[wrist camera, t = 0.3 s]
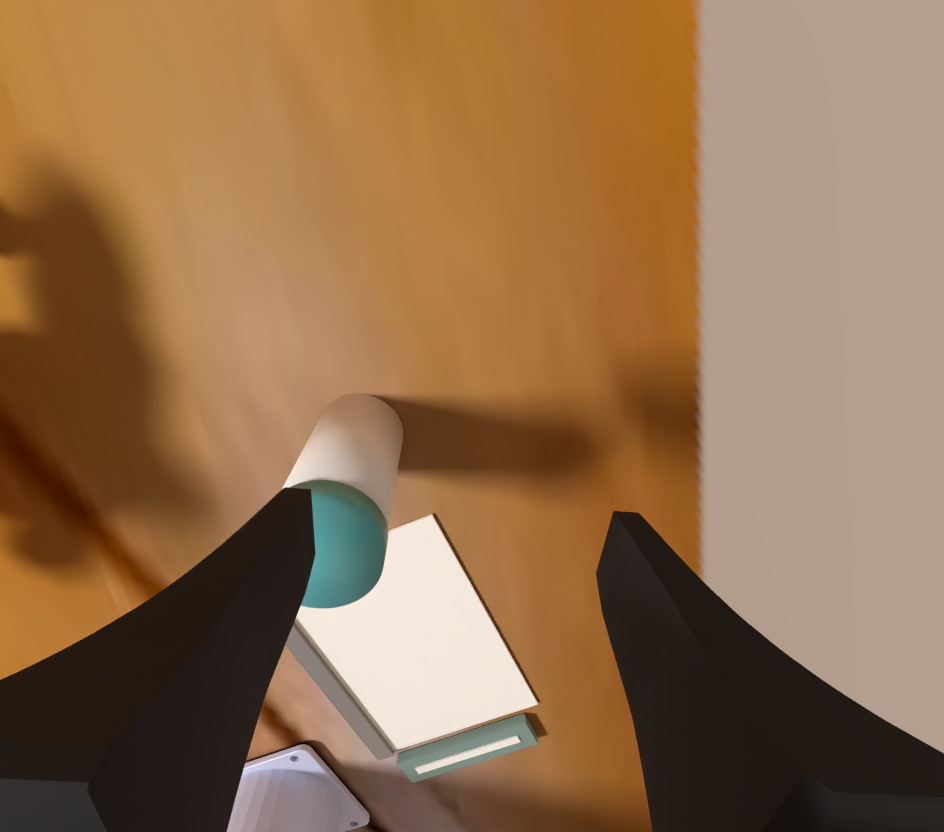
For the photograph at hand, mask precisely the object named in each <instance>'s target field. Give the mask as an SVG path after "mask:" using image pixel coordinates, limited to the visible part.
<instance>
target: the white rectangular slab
mask: <svg viewBox="0 0 944 832" xmlns="http://www.w3.org/2000/svg"><path fill="white" fill-rule="evenodd" d="M285 645H286V646H287V648H288V649H289V650H290V651H291V652H292V654H293V655H294V656H295V657H296V659H297V660H298V661H299V662H300V664H301V665H302V666H303V667H304V669H305V670H306V671H307V672H308V674H309V675H310V676H311V677H312V679H313V680H314V681H315V682H316V684H317V685H318V686H319V687H320V689H321V690H322V691H323V692H324V694H325V695H326V696H327V697H328V699H329V700H330V701H331V702H332V704H333V705H334V706H335V707H336V709H337V710H338V711H339V712H340V714H341V715H342V716H343V717H344V719H345V720H346V721H347V722H348V724H349V725H350V726H351V727H352V729H353V730H354V731H355V732H356V734H357V735H358V736H359V737H360V739H361V740H362V741H363V742H364V744H365V745H366V746H367V747H368V748H369V750H370V751H371V752H372V753H373V755H374V756H375V757H376V758H377V760H381V759H384V758H387V757H391V756H394V751H395V750H398V749H401V748H404V747H407V746H410V745H414V744H417V743H420V742H423V741H426V740H429V739H432V738H435V737H438V736H441V735H444V734H448V733H451V732H454V731H457V730H460V729H463V728H466V727H469V726H472V725H475V724H478V723H482V722H485V721H488V720H491V719H494V718H497V717H500V716H503V715H506V714H509V713H513V712H516V711H519V710H522V709H525V708H528V707H531V706H534V705H537V704H538V702H537V700H536V699H535V697H534V695H533V693H532V691H531V690H530V688H529V686H528V684H527V682H526V681H525V679H524V677H523V675H522V673H521V672H520V670H519V668H518V666H517V665H516V663H515V661H514V659H513V657H512V656H511V654H510V652H509V650H508V648H507V647H506V645H505V643H504V641H503V640H502V638H501V636H500V634H499V632H498V631H497V629H496V627H495V625H494V623H493V622H492V620H491V618H490V616H489V615H488V613H487V611H486V609H485V607H484V606H483V604H482V602H481V600H480V598H479V597H478V595H477V593H476V591H475V590H474V588H473V586H472V584H471V582H470V581H469V579H468V577H467V575H466V573H465V572H464V570H463V568H462V566H461V565H460V563H459V561H458V559H457V557H456V556H455V554H454V552H453V550H452V548H451V547H450V545H449V543H448V541H447V539H446V538H445V536H444V534H443V532H442V531H441V529H440V527H439V525H438V523H437V522H436V520H435V518H434V516H433V514H430V515H428V516H425V517H423V518H420V519H417V520H415V521H412V522H410V523H407V524H404V525H402V526H399V527H397V528H394V529H391V530H389V531H388V544H387V549H386V555H385V561H384V567H383V571H382V574H381V577H380V579H379V581H378V583H377V584H376V585H375V587H374V588H373V589H372V590H371V591H370V592H369V593H368V594H367V595H365V596H364V597H363V598H361V599H359V600H357V601H355V602H353V603H351V604H348V605H345V606H341V607H336V608H310V607H305V606H300V609H299V611H298V614H297V616H296V619H295V621H294V624H293V626H292V629H291V631H290V634H289V636H288V639H287V641H286V644H285Z"/></svg>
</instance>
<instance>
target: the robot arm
mask: <svg viewBox="0 0 944 832" xmlns="http://www.w3.org/2000/svg"><path fill="white" fill-rule="evenodd" d="M315 555H316V553H315V538H314V524H313V509H312V495H311V489H302V488H288V487H285V488H283V489H282V490H281V491H280V492H279V493H278V494H276V495H275V496H274V497H273V498H272V499H271V500H270V501H269V502H268V503H267V504H266V505H265V506H264V507H263V508H262V509H261V510H259V511H258V512H257V513H256V514H255V515H254V516H253V517H252V518H251V519H250V520H249V521H248V522H247V523H245V524H244V525H243V526H242V527H241V528H240V529H239V530H238V531H236V532H235V533H234V534H233V535H232V536H231V537H230V538H229V539H227V540H226V541H225V542H224V543H223V544H222V545H221V546H219V547H218V548H217V549H216V550H215V551H213V552H212V553H211V554H210V555H208V556H207V557H206V558H205V559H203V560H202V561H201V562H200V563H198V564H197V565H196V566H195V567H193V568H192V569H191V570H190V571H188V572H187V573H186V574H184V575H183V576H182V577H180V578H179V579H178V580H176V581H175V582H174V583H172V584H171V585H169V586H168V587H167V588H165V589H164V590H162V591H161V592H159V593H158V594H156V595H155V596H153V597H152V598H151V599H149V600H148V601H146V602H145V603H143V604H141V605H140V606H138V607H137V608H135V609H133V610H132V611H130V612H128V613H127V614H125V615H123V616H122V617H120V618H118V619H117V620H115V621H113V622H112V623H110V624H108V625H107V626H105V627H103V628H101V629H100V630H98V631H96V632H95V633H93V634H91V635H89V636H88V637H86V638H84V639H82V640H80V641H78V642H77V643H75V644H73V645H71V646H69V647H67V648H65V649H63V650H62V651H60V652H58V653H56V654H54V655H52V656H50V657H48V658H46V659H44V660H42V661H40V662H38V663H36V664H34V665H32V666H30V667H27V668H25V669H23V670H21V671H19V672H17V673H15V674H13V675H10V676H8V677H6V678H4V679H1V680H0V832H346V831H349V830H352V829H356V828H359V827H362V826H365V825H367V824H368V823H369V818H370V815H369V813H368V812H367V811H366V810H365V809H364V807H363V806H362V805H361V804H360V803H359V802H358V801H357V799H356V798H355V797H354V796H353V795H352V794H351V792H350V791H349V790H348V789H347V788H346V787H345V786H344V784H343V783H342V782H341V781H340V780H339V779H338V778H337V776H336V775H335V774H334V773H333V772H332V771H331V770H330V768H329V767H328V766H327V765H326V764H325V763H324V762H323V760H322V759H321V758H320V757H319V756H318V755H317V754H316V752H315V751H314V750H313V749H312V748H311V747H310V746H309V745H306V744H302V745H298V746H295V747H292V748H289V749H286V750H283V751H280V752H277V753H274V754H271V755H268V756H265V757H262V758H259V759H256V760H253V761H250V762H247V763H245V762H246V758H247V755H248V751H249V748H250V744H251V741H252V737H253V734H254V731H255V727H256V724H257V720H258V717H259V714H260V710H261V707H262V703H263V701H264V698H265V695H266V692H267V689H268V687H269V684H270V681H271V679H272V676H273V674H274V671H275V669H276V666H277V664H278V661H279V659H280V656H281V654H282V651H283V649H284V646H285V644H286V641H287V639H288V636H289V634H290V631H291V629H292V626H293V624H294V621H295V619H296V616H297V614H298V611H299V609H300V606H301V604H302V601H303V598H304V596H305V593H306V589H307V586H308V582H309V578H310V575H311V571H312V567H313V563H314V559H315ZM596 575H597V582H598V589H599V596H600V602H601V608H602V613H603V617H604V621H605V624H606V628H607V631H608V635H609V638H610V642H611V645H612V648H613V652H614V655H615V659H616V662H617V665H618V669H619V672H620V676H621V679H622V682H623V686H624V689H625V693H626V696H627V699H628V703H629V707H630V711H631V715H632V719H633V723H634V728H635V733H636V738H637V743H638V749H639V754H640V759H641V764H642V770H643V776H644V782H645V787H646V793H647V799H648V805H649V811H650V817H651V824H652V830H653V832H944V753H942V752H940V751H938V750H936V749H935V748H933V747H931V746H929V745H928V744H926V743H924V742H922V741H921V740H919V739H917V738H915V737H913V736H912V735H910V734H908V733H906V732H905V731H903V730H901V729H899V728H898V727H896V726H894V725H892V724H890V723H889V722H887V721H885V720H884V719H882V718H880V717H879V716H877V715H875V714H874V713H872V712H871V711H869V710H867V709H866V708H864V707H863V706H861V705H859V704H858V703H856V702H854V701H853V700H852V699H850V698H848V697H847V696H845V695H844V694H842V693H841V692H839V691H838V690H836V689H835V688H833V687H832V686H830V685H829V684H827V683H826V682H824V681H823V680H821V679H820V678H819V677H817V676H816V675H814V674H813V673H812V672H810V671H809V670H807V669H806V668H805V667H803V666H802V665H801V664H799V663H798V662H796V661H795V660H794V659H792V658H791V657H789V656H788V655H787V654H785V653H784V652H783V651H782V650H780V649H779V648H778V647H776V646H775V645H774V644H773V643H771V642H770V641H769V640H768V639H767V638H765V637H764V636H763V635H762V634H760V633H759V632H758V631H757V630H756V629H754V628H753V627H752V626H751V625H749V624H748V623H747V622H746V621H745V620H744V619H743V618H741V617H740V616H739V615H738V614H737V613H736V612H735V611H733V610H732V609H731V608H730V607H729V606H728V605H727V604H726V603H725V602H724V601H723V600H722V599H721V598H720V597H719V596H717V595H716V594H715V593H714V592H713V591H712V590H711V589H710V588H709V587H708V586H707V585H706V584H705V583H704V582H703V581H702V580H701V579H700V578H699V577H698V576H697V575H696V574H695V573H694V572H693V571H692V570H691V569H690V568H689V567H688V566H687V565H686V564H685V562H684V561H683V560H682V559H681V558H680V557H679V556H678V555H677V554H676V553H675V552H674V551H673V550H672V548H671V547H670V546H669V545H668V544H667V543H666V542H665V541H664V540H663V539H662V538H661V536H660V535H659V534H658V533H657V532H656V531H655V530H654V529H653V528H652V527H651V525H650V524H649V523H648V522H647V521H646V520H645V519H644V518H643V517H642V516H641V515H640V514H639V513H633V512H620V511H614V512H613V515H612V519H611V522H610V526H609V529H608V533H607V537H606V540H605V544H604V547H603V551H602V554H601V558H600V561H599V565H598V569H597V572H596Z"/></svg>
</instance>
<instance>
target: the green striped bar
mask: <svg viewBox="0 0 944 832" xmlns="http://www.w3.org/2000/svg"><path fill="white" fill-rule="evenodd" d="M537 744H538V740H537V734H536V732H535V731H534V729H533V727H532V725H531V724H530V722H529V720H528V719H527V717H526V715H525V713H523V714H520V715H517V716H514V717H511V718H508V719H504V720H501V721H498V722H495V723H492V724H489V725H486V726H483V727H480V728H477V729H473V730H470V731H467V732H464V733H461V734H458V735H455V736H452V737H449V738H445V739H442V740H439V741H436V742H433V743H430V744H427V745H424V746H421V747H418V748H414V749H411V750H408V751H405V752H402V753H399V754H398V760H397V764H398V766H399V767H400V768H401V770H402V771H403V772H404V773H405V775H406V776H407V777H408V779H409V780H410V781H411V782H412V783H415V782H418V781H421V780H425V779H428V778H431V777H434V776H437V775H441V774H444V773H447V772H450V771H453V770H457V769H460V768H463V767H466V766H469V765H473V764H476V763H479V762H482V761H485V760H489V759H492V758H495V757H498V756H501V755H505V754H508V753H511V752H514V751H517V750H521V749H524V748H527V747H530V746H533V745H537Z"/></svg>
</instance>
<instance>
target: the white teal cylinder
mask: <svg viewBox="0 0 944 832" xmlns="http://www.w3.org/2000/svg"><path fill="white" fill-rule="evenodd" d="M402 443H403V426H402V423H401V420H400V418H399V416H398V415H397V413H396V412H395V411H394V409H393V408H392V407H391V406H390V405H388V404H387V403H386V402H384V401H382V400H381V399H379V398H376V397H374V396H370V395H365V394H351V395H346V396H343V397H340V398H338V399H336V400H335V401H333V402H332V403H331V404H330V405H329V406H328V407H327V408H326V409H325V410H324V412H323V414H322V415H321V417H320V419H319V421H318V423H317V425H316V427H315V428H314V430H313V432H312V434H311V436H310V438H309V440H308V442H307V443H306V445H305V447H304V449H303V451H302V453H301V455H300V456H299V458H298V460H297V462H296V464H295V466H294V468H293V470H292V471H291V473H290V475H289V477H288V479H287V481H286V483H285V484H284V486H283V488H285V487H288V488H302V489H311V495H312V509H313V524H314V538H315V553H316V555H315V559H314V563H313V567H312V571H311V575H310V578H309V582H308V586H307V589H306V593H305V596H304V598H303V601H302V604H301V606H305V607H310V608H336V607H341V606H345V605H348V604H351V603H353V602H355V601H357V600H359V599H361V598H363V597H364V596H365V595H367V594H368V593H369V592H370V591H371V590H372V589H373V588H374V587H375V585H376V584H377V583H378V581H379V579H380V577H381V574H382V571H383V567H384V561H385V555H386V549H387V544H388V520H389V515H390V509H391V504H392V498H393V493H394V487H395V481H396V476H397V470H398V465H399V459H400V454H401V448H402ZM283 488H282V489H283Z"/></svg>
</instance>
